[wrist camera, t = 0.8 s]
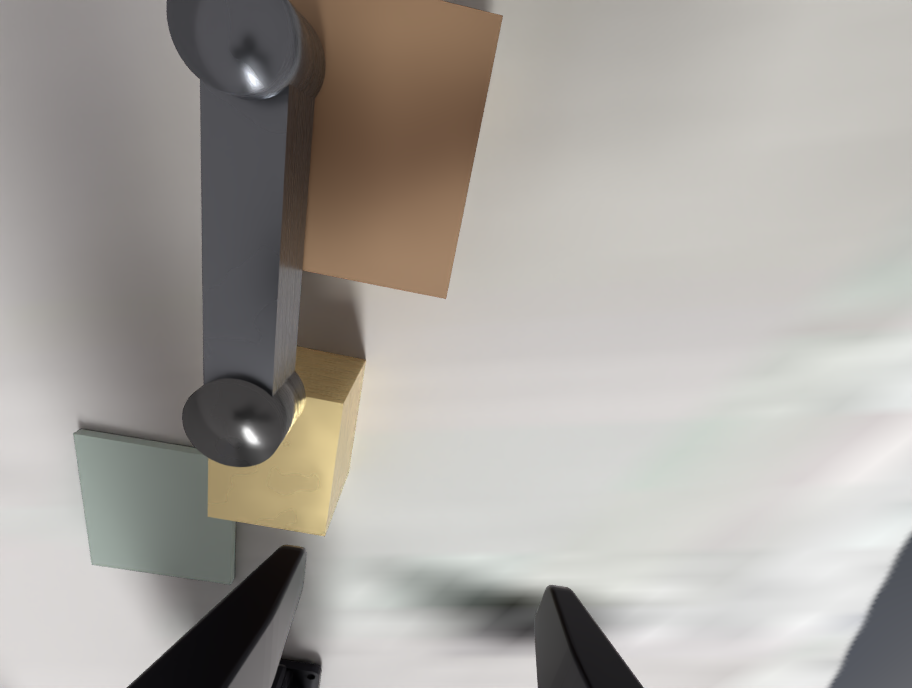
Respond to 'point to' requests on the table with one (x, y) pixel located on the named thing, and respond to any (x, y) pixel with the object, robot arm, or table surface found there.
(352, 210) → the plane block
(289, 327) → the lever
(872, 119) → the table surface
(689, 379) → the table surface
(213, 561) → the glass plate
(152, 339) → the table surface
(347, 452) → the brass block
